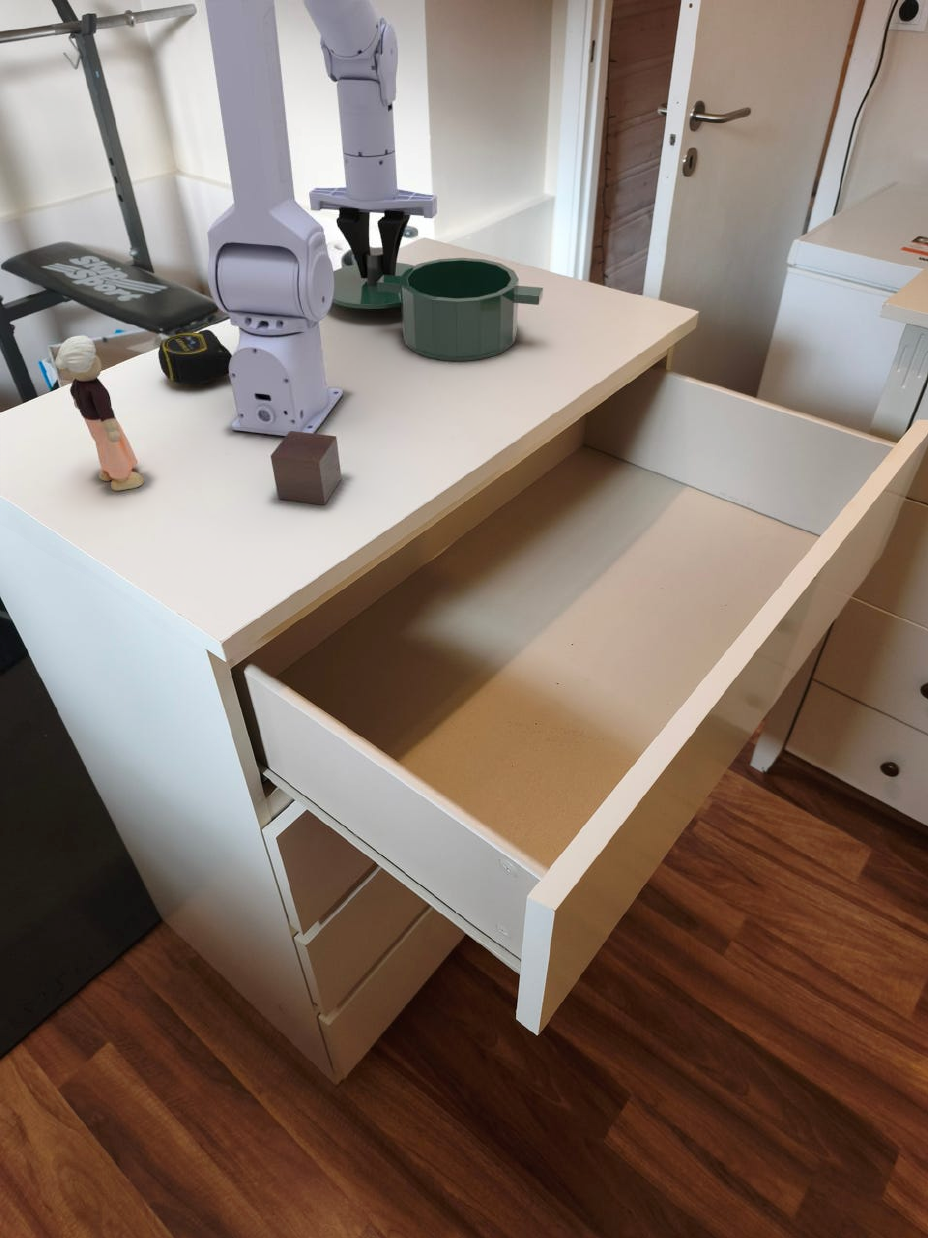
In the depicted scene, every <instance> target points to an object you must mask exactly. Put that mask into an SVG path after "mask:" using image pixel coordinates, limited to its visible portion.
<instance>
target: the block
mask: <svg viewBox="0 0 928 1238" xmlns="http://www.w3.org/2000/svg"><path fill="white" fill-rule="evenodd" d="M270 461H271V466H272V472H273V477H274V482H275V489H276V495H277V498H278V500H284V501H292V502H298V503H300V502H301V503H307V504H315V505H322V506H326V503H327V502H328V501H329V499H330V498H331V496H332V495H333V493H334V491H335V490H336V488H337V486H338V485H339V484H340V482H341V480H342V471H341V464H340V463H341V462H340V455H339V447H338V438H337V435H329V434H321V433H314V434H313V433H305V432H296V431H290V432H289V433H288V434H287V435H286V436H284V438H283V439H282V440H281V442H280V443H279V444H278V445H277V447H276V448H275V449H274V450H273V452H271V454H270Z"/></svg>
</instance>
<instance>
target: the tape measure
mask: <svg viewBox="0 0 928 1238" xmlns="http://www.w3.org/2000/svg"><path fill="white" fill-rule="evenodd" d="M157 355H158V360H159V365H160V369H161V371H162V372H163V374H164V375H165V377H166V378H168V379H169V380H171V381H172V382H174V383H177V384H181V385H190V386H191V385H203V384H207V383H209V382H212V381H215V380H217V379H220V378H223V377H226V376H229V363H230V360H231V357H232V356H233V354H232V353H231V352H230V350H229V349H228V348H227V347H226V346H224V345H223V344H222V343H221V341H220V340H219V339H218V336H217V335H215V333H214V332H213V331H212V330H210V329H203V330H200V331H198V332H182V333H178V334H174V335H171V336H169V337H167V338H165V339H164V340H163V341H162V342H161V343H160V345H159V348H158V352H157Z"/></svg>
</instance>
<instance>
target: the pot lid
mask: <svg viewBox="0 0 928 1238" xmlns="http://www.w3.org/2000/svg"><path fill="white" fill-rule="evenodd" d="M365 261H366V273H367V278H366V279H365V278H361V276H360V272H359V269H358V265H357V263H356V264H351V265H347V266H344V267H340V268H337V269H335V270H333V272H334V295H333V300H332V304H336V305H339V306H343V307H346V308H352V309H363V310H379V309H380V310H382V309H391V308H398V307H401V293H393V292H382V291H377V282H378V280H379V279H380V278H381V277H382V276H383V275H384V266H383V250H382V248H370V250H367V251H366V252H365ZM414 266H415V265H413V264H409V263H403V262H397V263H396V273H395V276H402V275H403V274H404V272H405V271H406V270H407V269H409V268H411V267H414Z"/></svg>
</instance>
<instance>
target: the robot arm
mask: <svg viewBox="0 0 928 1238" xmlns="http://www.w3.org/2000/svg"><path fill="white" fill-rule="evenodd" d="M302 3H303V6H304V7H305V9H306V11H307V12H308V14H309V17H310V18H311V20H312V22H313V24H314V25H315V27H316V29H317V31H318V33H319V35H320V39H319V44H320V50H321V51H322V54H323V60H324V67H325V70H326V74H327V77H328V78H329V79H330V80H331V81H332V82H333V83H336V93H337V94H336V95H337V105H338V115H339V126H340V135H341V146H342V156H343V157H342V158H343V159H342V160H343V167H344V178H345V186H342V187H314V188H313V189H312V190H310V191H309V192H308V196H309V197H308V198H309V204H310V205H309V206H310V210H311V211H314V212H315V211H317V212H318V211H321V210H330V211H338V213H339V214H338V217H337V218H336V219H335V222H336V225H337V228H338V230H339V231H340V233H342V235H343V237H344V239H345V240H346V242H347V244H348V246H349V248H350V250H351V251H352V252H351V253H352V254H353V257H354V260H355V262H356V264H357V265H358V269H359V272H360V276H361V278H365V279H366V278H367V273H366V261H365V252H366V251H367V250H370V249H371V243H370V221H371V213H375V214H383V216H382V217H380V219H378V220H377V222H376V223H377V228H378V233H379V237H380V242H381V249H382V250H383V266H384V275H393V276H395V273H396V263H398V262H397V261H398V256H399V251H400V247H401V245H402V244H401V243H402V240H403V237H404V234H405V231H406V229H407V226H408V224H409V221H410V219H411V216H417V217H418V216H419V217H423V218H424V219H433V218H435V216H436V215H437V214H438V204H437V203H438V202H437V194H427V193H420V192H415V191H410V190H404V189H399V188H398V177H397V175H398V174H397V158H396V141H395V123H394V121H395V120H394V106H393V102H394V101H396V99H397V72H398V63H399V47H398V40H397V35H396V34H397V33H396V30H395V28H394V26H393V24H391V23H388V22H387V20H386V19H385V17H383V16H382V17H379V16H378V14H377V12H376V9H375V7H374V5H373V3H372V0H302ZM204 4H205V11H206V17H207V25H208V32H209V38H210V45H211V51H212V53H211V54H212V59H213V60H212V61H213V66H214V72H215V73H214V74H215V80H216V88H217V92H218V94H217V95H218V101H219V107H220V115H221V122H222V129H223V136H224V142H225V143H224V144H225V149H226V156H227V163H228V170H229V178H230V183H231V189H232V198H233V203H232V204H231V205H230V206H229V207H228V208H227V209H226V210H225V211H224V212H223V213H222V214H221V215H219V216H218V217H217V218H216V219H215V220H214V222H213V223H212V224H211V226H210V227H209V229H208V230H207V233H206V234H207V243H208V262H207V263H208V264H207V283H208V288H209V293H210V295H211V297H212V299H213V301H214V303H215V305H216V306H217V308H218V309H219V310H220V311H221V312H222V313H224V314H228V315H229V321H230V325H231V326H235V327H238V332H239V338H238V344H237V347H236V348H235V351H234V352H233V354H232V357H231V360H230V363H229V374H228V376H229V380H230V384H231V385H230V386H231V389H232V394H233V399H234V404H235V408H236V414H237V417H236V418H235V419H234V420H233V422H232V423H231V425H230V426H231V429H232V430H234V431H240V432H249V433H257V434H264V435H266V434H267V435H274V436H282V437H286V435H287V434H288V433H289V432H290V431H296V432H305V433H313V434H315V432H316V431H317V429H318V428H319V427H320V426H321V424H322V423H323V422H324V420H325V419H326V417H327V416H328V414H329V413H330V412H331V411H332V410H333V408H334V407H335V405H336V404H337V403H338V402H339V400H340V399H341V397H342V396H343V394H344V391H343V389H342V388H339V387H329V386H327V378H326V368H325V360H324V353H323V345H322V338H321V329H320V322H321V321H323V320H324V318H325V317H326V315H327V314H328V313H329V311H330V310H331V307H332V304H333V302H332V300H333V295H334V272H333V271H334V267H333V264H332V260H331V258H330V256H329V251H328V246H327V241H326V235H325V231H324V227H323V226H322V225H321V223H319V222H318V221H317V220H316V219H315V218H314V217H313V216H312V215H311V214H310V213H308V212H307V211H306V210H305V209H304V208H303V207H302V206H301V205H300V203H298V202H297V201H296V199H295V198H296V197H295V190H294V181H293V179H294V178H293V172H292V171H293V170H292V161H291V151H290V140H289V131H288V123H287V113H286V101H285V94H284V84H283V83H284V82H283V74H282V73H283V72H282V64H281V55H280V45H279V36H278V35H279V34H278V27H277V18H276V17H277V15H276V7H275V0H204Z"/></svg>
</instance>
